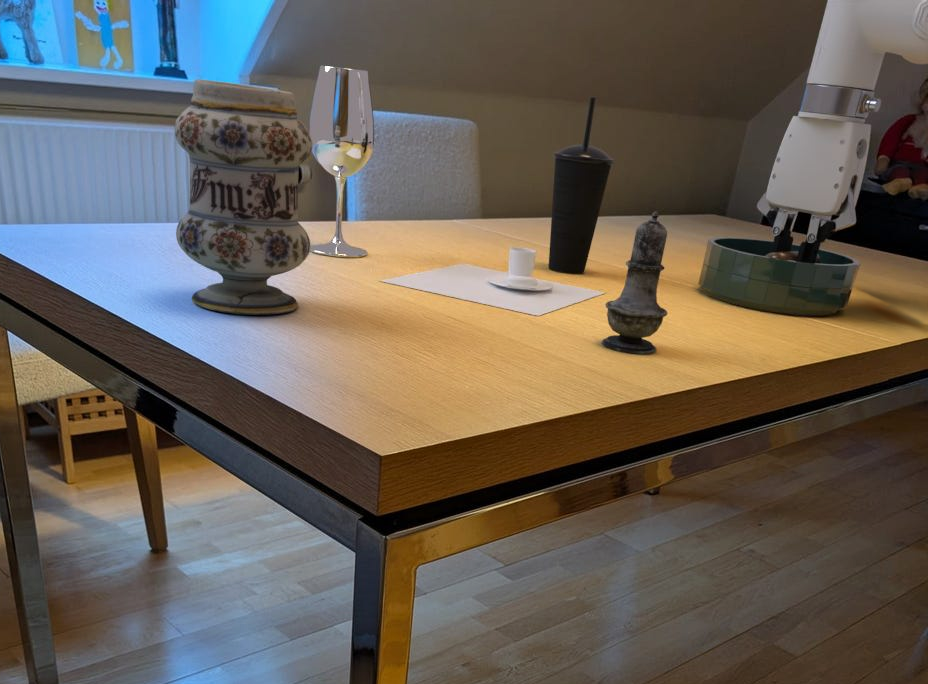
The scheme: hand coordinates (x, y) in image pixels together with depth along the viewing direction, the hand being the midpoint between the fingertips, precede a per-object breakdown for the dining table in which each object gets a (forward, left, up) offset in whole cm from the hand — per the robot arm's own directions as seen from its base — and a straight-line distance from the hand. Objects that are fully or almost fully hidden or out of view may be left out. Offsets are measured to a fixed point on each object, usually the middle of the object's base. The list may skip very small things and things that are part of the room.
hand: (788, 271), depth 115 cm
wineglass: (+57, -2, -4) cm, 57 cm away
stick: (0, 0, 0) cm, 0 cm away
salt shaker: (+25, +33, -4) cm, 42 cm away
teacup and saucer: (+37, +10, -4) cm, 39 cm away
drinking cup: (+27, -7, -4) cm, 28 cm away
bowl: (+1, -1, -4) cm, 4 cm away
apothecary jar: (+62, +32, -4) cm, 70 cm away
